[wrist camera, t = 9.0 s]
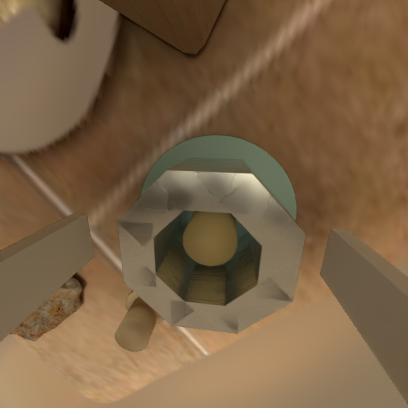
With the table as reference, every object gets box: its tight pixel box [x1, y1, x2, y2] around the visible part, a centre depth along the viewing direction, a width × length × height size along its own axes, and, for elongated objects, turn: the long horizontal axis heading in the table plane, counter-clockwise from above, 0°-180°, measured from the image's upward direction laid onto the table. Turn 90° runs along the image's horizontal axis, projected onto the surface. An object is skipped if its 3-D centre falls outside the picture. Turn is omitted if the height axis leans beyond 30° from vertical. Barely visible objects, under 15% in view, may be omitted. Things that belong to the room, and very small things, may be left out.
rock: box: [10, 277, 82, 341], centre depth 21 cm, size 9×6×10 cm
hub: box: [141, 135, 297, 266], centre depth 15 cm, size 12×12×6 cm
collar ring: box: [117, 158, 306, 334], centre depth 13 cm, size 9×9×6 cm
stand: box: [115, 291, 164, 352], centre depth 20 cm, size 4×4×4 cm
